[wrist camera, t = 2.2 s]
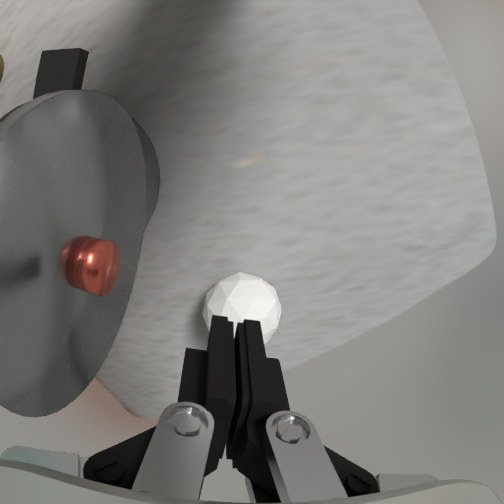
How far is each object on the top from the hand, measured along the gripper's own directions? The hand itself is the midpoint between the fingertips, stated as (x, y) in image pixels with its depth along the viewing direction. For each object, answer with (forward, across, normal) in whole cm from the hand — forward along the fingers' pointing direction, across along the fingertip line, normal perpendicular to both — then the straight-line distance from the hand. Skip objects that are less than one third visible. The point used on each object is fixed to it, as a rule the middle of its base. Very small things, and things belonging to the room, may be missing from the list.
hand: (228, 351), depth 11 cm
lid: (+5, +8, 0) cm, 10 cm away
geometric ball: (+23, -3, +9) cm, 25 cm away
